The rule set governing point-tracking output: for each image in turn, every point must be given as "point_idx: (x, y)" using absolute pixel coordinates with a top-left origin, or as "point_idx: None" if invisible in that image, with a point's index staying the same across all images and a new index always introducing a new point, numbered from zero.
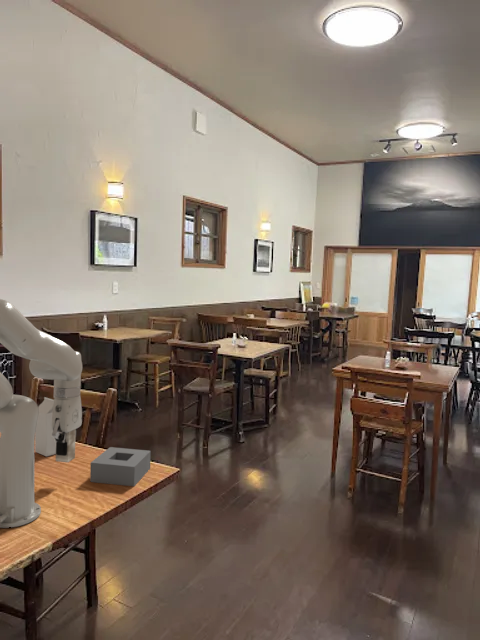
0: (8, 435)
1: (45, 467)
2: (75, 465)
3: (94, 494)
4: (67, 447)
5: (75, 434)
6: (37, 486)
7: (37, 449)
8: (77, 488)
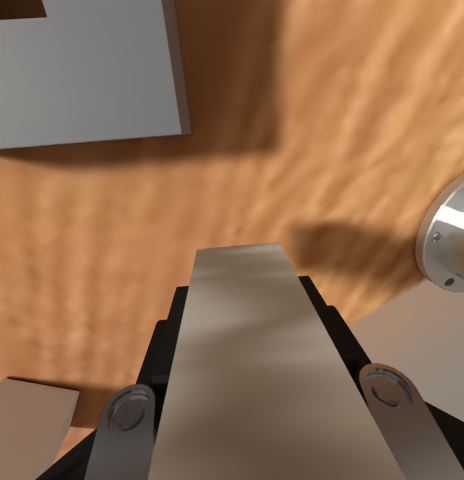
0: None
1: None
2: (80, 283)
3: (309, 30)
4: (311, 311)
5: (107, 418)
6: None
7: (65, 433)
8: (267, 152)
